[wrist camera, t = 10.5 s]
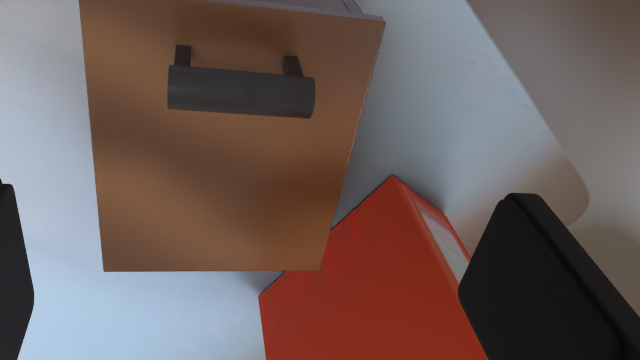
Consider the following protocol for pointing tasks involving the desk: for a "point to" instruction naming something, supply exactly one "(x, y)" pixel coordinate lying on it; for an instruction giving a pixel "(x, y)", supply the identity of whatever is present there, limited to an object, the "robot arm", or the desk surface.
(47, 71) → the desk surface
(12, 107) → the desk surface
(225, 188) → the wooden box lid
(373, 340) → the file binder
